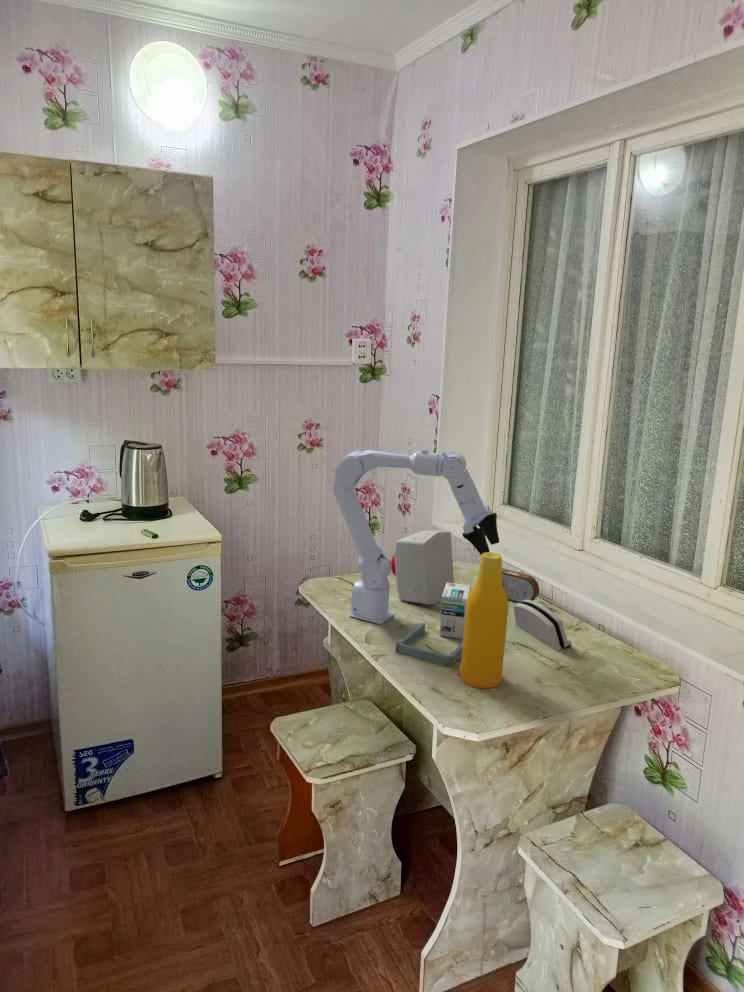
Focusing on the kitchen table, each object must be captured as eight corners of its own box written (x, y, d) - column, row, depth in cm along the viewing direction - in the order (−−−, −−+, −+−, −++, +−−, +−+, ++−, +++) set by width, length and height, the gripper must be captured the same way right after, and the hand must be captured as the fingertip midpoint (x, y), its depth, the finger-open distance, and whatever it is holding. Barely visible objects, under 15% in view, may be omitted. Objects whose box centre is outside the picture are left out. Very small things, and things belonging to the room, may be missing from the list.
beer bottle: (473, 692, 163) (484, 564, 156) (452, 672, 171) (461, 550, 164) (509, 685, 167) (522, 560, 160) (487, 667, 175) (498, 547, 168)
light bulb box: (465, 640, 189) (468, 599, 186) (438, 636, 190) (441, 596, 187) (468, 623, 199) (472, 584, 196) (443, 620, 200) (446, 581, 198)
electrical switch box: (411, 589, 227) (407, 524, 224) (454, 594, 218) (450, 527, 215) (383, 602, 215) (378, 534, 212) (428, 609, 207) (423, 538, 204)
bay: (395, 651, 180) (395, 644, 180) (421, 629, 193) (421, 622, 193) (450, 666, 174) (450, 658, 174) (473, 643, 187) (473, 635, 187)
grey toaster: (573, 648, 187) (567, 614, 183) (558, 656, 185) (551, 623, 182) (530, 622, 202) (523, 590, 198) (516, 630, 200) (509, 598, 196)
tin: (538, 604, 214) (541, 576, 212) (534, 607, 212) (537, 579, 210) (489, 592, 222) (491, 564, 220) (484, 595, 219) (487, 567, 217)
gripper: (472, 504, 179) (495, 555, 180) (492, 485, 191) (513, 534, 193) (447, 512, 183) (470, 563, 184) (468, 494, 195) (489, 541, 196)
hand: (490, 548), depth 189 cm, fingers open, 7 cm apart
